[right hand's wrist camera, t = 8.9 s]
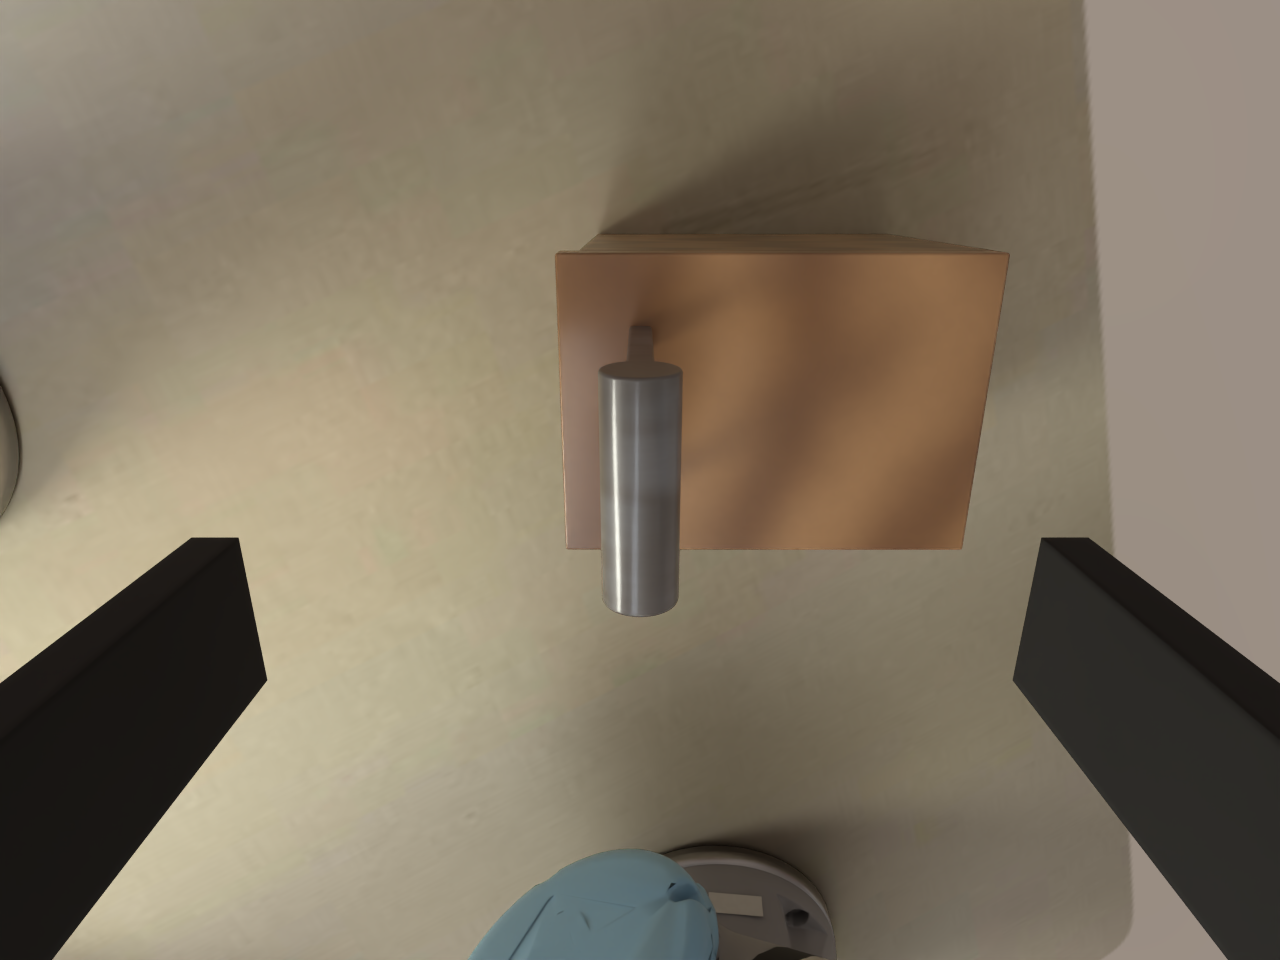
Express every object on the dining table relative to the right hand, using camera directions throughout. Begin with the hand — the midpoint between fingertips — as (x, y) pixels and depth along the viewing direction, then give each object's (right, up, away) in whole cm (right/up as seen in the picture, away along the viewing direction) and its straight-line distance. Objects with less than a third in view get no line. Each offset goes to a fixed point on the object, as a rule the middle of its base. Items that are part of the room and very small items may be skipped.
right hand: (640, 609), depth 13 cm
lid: (+4, +5, +13) cm, 14 cm away
